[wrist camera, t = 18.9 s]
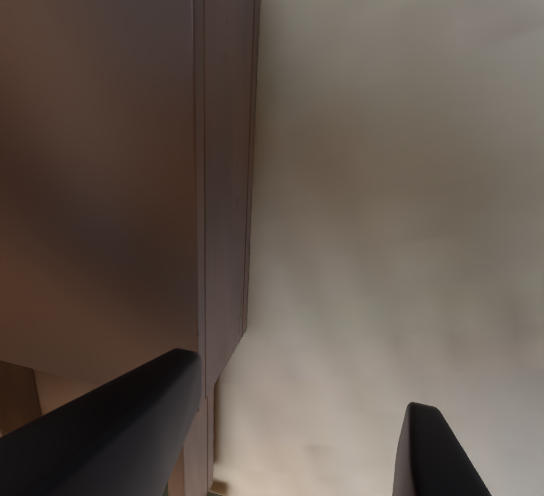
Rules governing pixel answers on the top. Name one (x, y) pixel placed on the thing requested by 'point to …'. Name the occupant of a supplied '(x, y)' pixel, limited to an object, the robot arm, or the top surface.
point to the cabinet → (125, 182)
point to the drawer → (60, 390)
